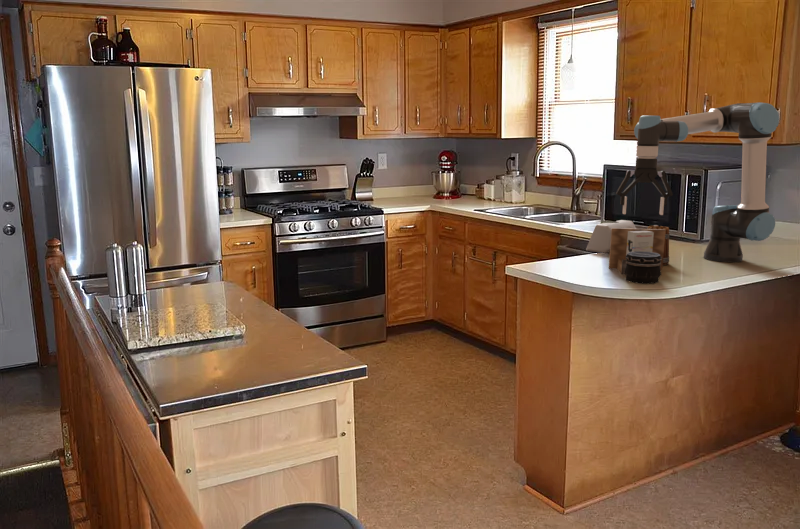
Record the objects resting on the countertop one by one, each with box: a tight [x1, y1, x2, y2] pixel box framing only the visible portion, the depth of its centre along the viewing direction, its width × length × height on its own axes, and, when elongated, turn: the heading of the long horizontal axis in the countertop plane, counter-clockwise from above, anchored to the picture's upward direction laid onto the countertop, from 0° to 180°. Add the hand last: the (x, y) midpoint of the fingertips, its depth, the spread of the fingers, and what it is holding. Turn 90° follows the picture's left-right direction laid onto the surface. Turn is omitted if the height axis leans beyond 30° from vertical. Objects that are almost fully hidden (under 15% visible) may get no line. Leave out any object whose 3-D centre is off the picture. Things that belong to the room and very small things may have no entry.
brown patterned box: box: [608, 228, 666, 275], centre depth 274 cm, size 20×11×16 cm, turn 83°
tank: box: [585, 219, 637, 254], centre depth 322 cm, size 25×16×12 cm, turn 135°
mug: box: [646, 224, 671, 267], centre depth 294 cm, size 16×11×15 cm
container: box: [624, 251, 662, 285], centre depth 259 cm, size 13×13×10 cm
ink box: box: [626, 231, 654, 255], centre depth 273 cm, size 9×5×12 cm, turn 106°
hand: (642, 214), depth 271 cm, fingers open, 13 cm apart
